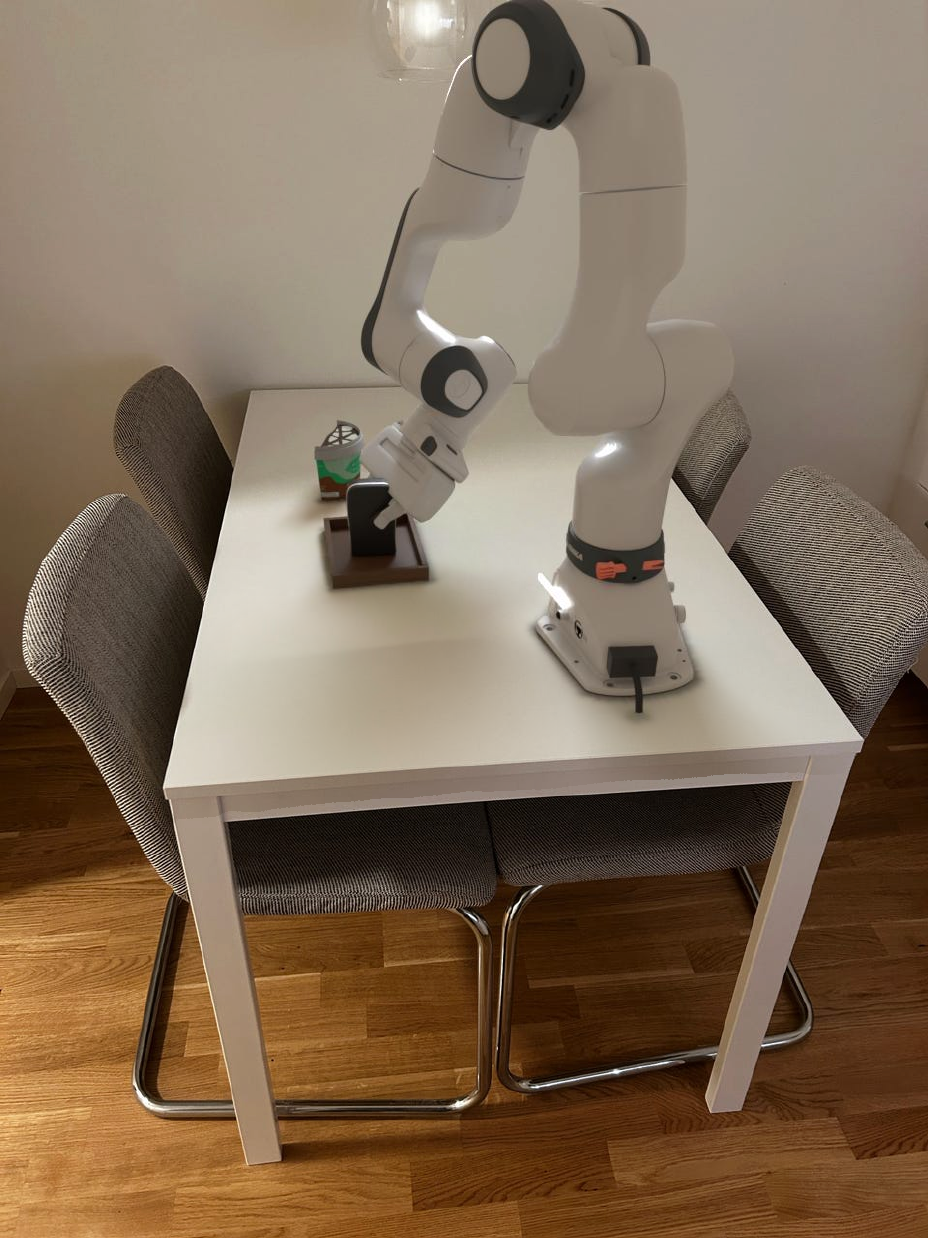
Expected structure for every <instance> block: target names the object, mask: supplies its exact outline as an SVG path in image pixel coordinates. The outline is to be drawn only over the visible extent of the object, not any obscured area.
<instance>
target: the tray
mask: <svg viewBox="0 0 928 1238" xmlns="http://www.w3.org/2000/svg"><path fill="white" fill-rule="evenodd" d="M323 530H324V536H325V544H326V550H327V558H328V563H329V571H330V572H329V573H330V577H331V585H332V589H333V590H335V589H337V590H338V589H347V588H357V587H358V588H359V587H367V586H369V587H370V586H378V585H387V584H388V585H390V584H399V583H408V582H409V583H412V582H423V581H429V580H430V567H429V563H428V560H427V558H426V553H425V551H424V547H423V543H422V541H421V538H420V534H419V532H418V528H417V525H416V522H415V518H413V517H412V516H411V515H409V514H408V513H407V512H406V511H405V512H404V513H403V515H402V516H400V517H398V518H396V549H397V551H396V553H395V554H392V555H379V556H352V554H351V545H350V533H349V526H348V518H347V515H345V516H344V515H343V516H335V517H333V516H332V517H331V516H330V517H323Z"/></svg>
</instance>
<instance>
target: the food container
mask: <svg viewBox="0 0 928 1238" xmlns="http://www.w3.org/2000/svg"><path fill="white" fill-rule="evenodd" d="M365 445H366V441H365V438H364V435H363V432H362V431H361V428H360V427H359V426H358V425H357V424H355V423H353V422H351V421H347V420H342V419H336V426H335V428H334V429H333V430H332V431H331V432H330V433H328V434H327V435H326V437H325V439H324V440H323V442H322V443H321V445H320V446H318V445H314V460H315V461H316V468H317V469H316V470H317V478H318V485H319V492H320V493H319V494H320V500H321V501H320V502H339V501H344V500H346V494H347V488H348V485H349V483H350V482H351V481H352V480H354V479H361V465H362V464H361V463H360V462H359V458H360V455H361V452H362V451H363V450H364V448H365Z"/></svg>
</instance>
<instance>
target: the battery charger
mask: <svg viewBox="0 0 928 1238" xmlns="http://www.w3.org/2000/svg"><path fill="white" fill-rule="evenodd" d="M388 490H389V484H388V483H387V482H386V480H385V479H384V478H367V477H366V478H365V477H364V478H360V479H354V480H352V481H351V482H350V483H349V485H348V488H347V494H346V499H345V500H346V503H345V504H346V516H347V518H348V526H349V533H350V545H351V554H352V556H379V555H392V554H395V553H396V551H397V549H396V519H394V520H392V521H390V522H389V523H388V524H387V526H386V527H385V528H384V529H380V528H378V527H377V526H376V525H375V524H374V523H373V522H372V517H373V516H375V514H376V512H377V511H380V512H382V511H383V510H384V509H386V508H387V507H389V506H390V505H389V502H390V501H391V500H392V498H393V497H392V496H391V495H390V494H389V493H388Z"/></svg>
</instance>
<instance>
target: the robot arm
mask: <svg viewBox="0 0 928 1238" xmlns="http://www.w3.org/2000/svg"><path fill="white" fill-rule="evenodd" d="M471 48H472V49H471V55H469V56H468V57H467V58H465V59H464V60H462V62H460V64H459V66H458V67H457V69H456V71H455V73H454V76H453V79H452V81H451V84H450V86H449V89H448V92H447V95H446V97H445V101H444V104H443V108H442V111H441V114H440V117H439V121H438V126H437V130H436V134H435V139H434V144H433V149H432V153H431V159H430V162H429V166H428V168H427V173H426V175H425V177H424V180H423V181H422V184H420V185H419V186H418V187H417V188H415V189H414V190H413V191H412V192H411V194H410V195H409V197H408V199H407V200H406V203H405V206H404V208H403V211H402V213H401V215H400V219H399V222H398V225H397V228H396V232H395V235H394V238H393V242H392V245H391V248H390V251H389V255H388V259H387V262H386V266H385V268H384V272H383V276H382V279H381V282H380V286H379V289H378V292H377V294H376V297H375V300H374V302H373V304H372V306H371V308H370V310H369V312H368V314H367V315H366V318H365V320H364V321H363V325H362V329H361V334H360V348H361V352H362V355H363V357H364V359H365V361H367V362H368V364H369V365H370V366H372V367H374V368H375V369H377V370H378V371H380V372H381V373H383V374H384V375H386V376H388V377H389V378H391V379H392V380H393V381H394V382H395V383H397V384H398V385H399V386H400V387H402V388H403V390H405V391H406V392H408V393H410V395H412V396H413V397H414V398H415V399H416V400H418V401H419V403H418V404H417V406H416V407H415V409H413V411H412V412H411V413H410V415H408V417H407V418H406V419H401V420H398V421H395V422H393V423H392V424H391V425H387V426H385V427H384V428H383V429H382V430H381V431H380V432H378V434H376V436H375V437H374V438H373V439H372V440H370V442H369V443H368V444H367V445H366V446H365V447H364V448H363V449H362V450H361V455H360V458H359V462H360V463H361V465H362V466H363V467H364V468H365V469H366V471H367V472H369V475H368V476H367V477H366V478H384V479H385V480H386V482H387V483H388V484H389V490H388V493H389V494H390V495H391V496H392V497H393V498H392V500H391V501H390V502H389V505H390V506H389V507H387V508H386V509H384V510H383V511H382V512H380V511H377V512H376V514H375V516H373V517H372V522H373V523H374V524H375V525H376V526H377V527H378V528H380V529H384V528H385V527H386V526H387V524H388V523H389V522H390V521H392V520H394V519H396V518H398V517H400V516H402V515H403V513H404V512H407V513H408V514H409V515H411V516H412V517H413V519H414V520H416V521H417V522H419V523H421V524H423V523H426V522H428V521H430V520H431V519H432V518H433V517H434V516H435V515H436V514H437V513H438V512H439V511H440V510H441V509H442V507H443V506H444V505H445V504H446V503H447V501H448V500H449V499H450V498H451V496H452V495H453V493H454V491H455V489H456V483H457V484H462V483H464V481H465V480H466V479H467V478H468V476H469V474H470V471H469V468H468V465H467V464H466V460H465V457H464V453H463V450H464V449H465V447H466V446H467V445H468V444H469V442H470V439H471V437H472V436H473V434H474V432H475V431H476V430H477V429H478V428H479V427H480V426H481V425H483V424H484V423H486V422H487V421H488V420H489V418H490V417H491V416H492V415H493V413H495V411H496V410H497V408H499V406H500V404H501V403H502V401H503V400H504V399H505V397H506V396H507V394H508V393H509V392H510V390H511V388H512V386H513V384H514V382H515V380H516V377H517V369H516V368H517V367H516V365H515V362H514V360H513V359H512V357H511V356H510V354H509V353H507V351H506V350H505V349H504V348H503V346H501V345H500V343H498V341H496V340H495V339H493V338H492V337H489V336H487V335H481V336H479V337H478V338H470V337H469V338H468V337H464V336H460V335H458V334H454V333H453V332H452V331H450V330H448V329H446V328H445V327H444V326H442V325H441V324H440V323H438V322H437V321H435V319H433V318H432V317H430V315H429V313H428V311H427V310H426V306H425V303H424V301H425V300H424V297H425V294H426V291H427V288H428V285H429V282H430V279H431V276H432V272H433V270H434V267H435V264H436V261H437V259H438V258H437V257H438V255H439V252H440V250H441V249H442V247H443V246H444V245H445V244H446V243H447V242H449V241H451V242H454V241H455V242H456V241H457V242H467V241H478V240H483V239H486V238H488V237H491V236H494V234H497V233H498V232H499V231H501V230H502V229H503V228H504V227H506V226H507V224H508V223H509V222H510V221H511V220H512V217H513V216H514V213H515V212H516V209H517V206H518V204H519V201H520V197H521V194H522V189H523V187H524V186H523V185H524V181H525V178H526V173H527V168H528V165H529V161H530V160H529V159H530V155H531V151H532V147H533V144H534V140H535V138H536V136H537V134H538V132H539V131H540V130H541V129H542V130H546V131H553V130H555V129H556V128H557V127H559V126H561V127H563V128H564V129H566V130H567V131H568V132H569V134H570V135H571V137H572V138H573V140H574V142H575V146H576V149H577V157H578V192H579V194H578V204H579V207H578V208H579V240H578V242H579V243H578V247H579V248H578V267H577V273H576V274H577V275H576V281H575V285H574V289H573V293H572V296H571V298H570V299H571V300H570V302H569V304H568V305H569V306H568V308H567V311H566V314H565V315H564V318H563V320H562V321H561V323H560V326H559V327H558V329H557V331H555V334H554V335H553V337H552V338H551V340H550V341H549V343H547V344H546V345H545V347H544V348H543V349H542V350H541V351H540V352H539V353H538V354H537V356H536V357H535V359H534V360H533V363H532V365H531V367H530V370H529V373H528V379H527V397H528V398H527V399H528V402H529V405H530V409H531V411H532V413H533V415H534V417H535V418H536V420H537V421H538V422H539V424H540V425H541V426H542V427H543V428H544V429H545V430H546V431H547V432H548V433H550V434H551V435H554V436H556V437H575V438H580V437H586V438H587V437H589V438H590V437H598V436H602V435H603V437H602V438H601V440H600V441H599V442H598V443H597V444H596V445H595V446H594V447H593V448H592V449H590V451H589V452H588V453H587V454H586V455H585V456H584V457H583V458H582V460H581V461H580V463H579V465H578V467H577V469H576V473H575V478H574V491H573V506H572V516H571V517H572V518H571V520H570V522H569V523H568V527H567V532H566V537H565V543H566V544H565V545H566V546H565V553H566V556H565V558H564V560H563V561H562V562H561V564H560V565H559V566H558V567H557V568H556V569H555V571H554V572H553V575H552V580H551V583H550V582H549V581H548V579H547V578H546V577H545V576H544V575H543V574H542V573H538V581H539V582H540V583H541V584H542V585H543V587H544V588H545V590H547V591H548V593H549V594H550V596H549V603H548V610H547V614H545V615H544V616H542V617H541V618H539V619H538V620H537V622H536V626H535V630H536V632H537V633H538V635H539V636H540V637H541V638H542V639H543V641H544V642H545V643H546V644H547V645H548V646H549V648H550V649H551V651H552V652H553V653H554V654H555V655H556V656H557V658H558V659H559V660H560V662H562V663H563V665H564V666H565V667H566V668H567V670H568V671H569V672H570V673H571V674H572V676H573V677H574V678H575V679H576V680H577V682H578V683H579V684H580V685H581V687H582V688H583V689H584V690H586V691H587V692H589V693H593V694H599V695H603V696H604V695H605V696H616V697H624V696H626V697H627V696H629V697H630V696H635V697H634V698H635V701H634V702H635V703H634V704H635V705H634V706H635V707H634V709H635V710H634V712H635V714H643V713H644V695H649V694H658V693H662V692H667V691H671V690H675V689H677V688H680V687H683V686H685V685H687V684H688V683H690V682H691V681H693V680H694V673H695V671H694V668H693V664H692V662H691V659H690V656H689V653H688V650H687V649H688V648H687V646H686V643H685V640H684V638H683V637H684V636H683V634H682V631H681V628H680V625H679V624H681V625H682V624H685V622H686V618H687V611H686V606H685V605H683V604H674V602H673V597H672V593H674V592H675V582H674V581H669V579H668V576H667V572H666V568H665V564H666V562H665V554H666V542H665V533H664V529H663V523H664V518H665V517H664V516H665V511H666V504H667V499H668V494H669V489H670V483H671V481H672V477H673V473H674V471H675V469H676V466H677V463H678V461H679V459H680V457H681V454H682V453H683V451H684V448H685V447H686V445H687V443H688V442H689V440H690V438H691V436H692V434H693V433H694V431H695V429H696V428H697V426H698V424H699V423H700V421H701V420H702V419H703V417H704V416H705V415H706V413H707V412H709V410H710V409H711V408H712V407H713V406H714V405H715V404H716V403H717V402H718V401H719V400H720V399H722V398H723V397H724V396H725V394H726V393H727V392H728V390H729V388H730V386H731V384H732V380H733V377H734V372H735V355H734V351H733V350H734V349H733V348H732V344H731V342H730V340H729V338H728V336H727V335H726V333H725V332H724V331H723V330H722V328H720V327H719V326H718V325H716V324H715V323H712V322H711V321H705V320H695V319H683V318H682V319H681V318H670V319H667V320H660V321H655V322H648V321H649V318H650V314H651V312H652V309H653V307H654V304H655V302H656V300H657V299H658V297H659V295H660V294H661V292H662V291H663V290H664V289H665V287H666V286H668V285H669V284H670V283H671V282H672V281H673V280H675V278H676V277H677V276H678V274H679V273H680V271H681V270H682V268H683V265H684V263H685V260H686V244H687V243H686V241H687V240H686V239H687V194H688V193H687V192H688V191H687V190H688V185H687V183H688V179H687V178H688V159H687V143H686V130H685V122H684V114H683V108H682V102H681V95H680V91H679V88H678V86H677V83H676V81H675V80H674V78H673V77H672V76H671V75H670V74H668V73H667V72H666V71H663V70H662V69H660V68H657V67H654V66H651V49H650V46H649V42H648V38H647V37H646V35H645V33H644V31H643V29H642V28H641V27H640V25H639V24H638V23H637V22H636V21H635V20H633V18H631V17H630V16H628V15H627V14H625V13H623V12H622V11H620V10H618V9H615V8H612V7H599V6H596V5H593V4H590V3H584V2H583V1H581V0H508V1H505V2H503V3H501V4H499V5H498V6H496V7H494V8H493V9H492V10H490V11H489V12H488V14H486V15H485V17H484V18H483V20H482V21H481V22H480V24H479V26H478V28H477V31H476V33H475V35H474V38H473V42H472V47H471Z"/></svg>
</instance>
